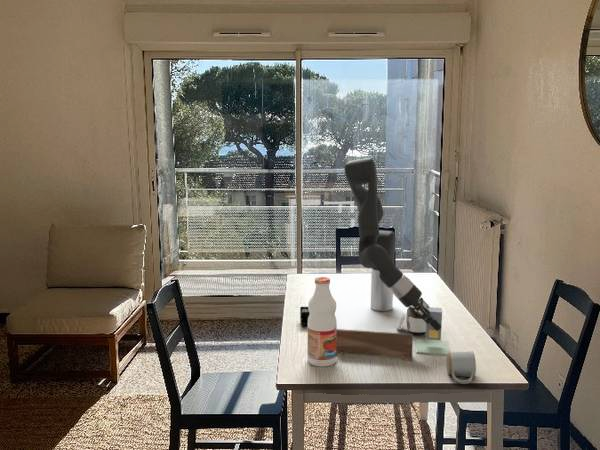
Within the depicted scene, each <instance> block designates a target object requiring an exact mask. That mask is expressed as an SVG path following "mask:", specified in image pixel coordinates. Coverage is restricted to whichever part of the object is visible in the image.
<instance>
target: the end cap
mask: <svg viewBox="0 0 600 450" xmlns="http://www.w3.org/2000/svg"><path fill="white" fill-rule="evenodd" d="M299 313H300V314H299V318H300V319H299V321H300V323H301V324H300V327H301V328H308V317H309V315H310V313H309V309H308V306H300V307H299Z"/></svg>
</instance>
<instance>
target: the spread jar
mask: <svg viewBox="0 0 600 450" xmlns="http://www.w3.org/2000/svg"><path fill="white" fill-rule="evenodd" d="M424 301H425V302H426V303H427V304H428V305H430V303H429V302H428V301H427V300H424ZM414 309H415V308H414V307H413V306H410V307H407V310H406V312H402V315H401V317H400V320H399V322H398V324H397V326H396V329H397V330H398V331H401V330H402V327H403V324H404V322H405V320H406V323H405V324H406V330H407V331H408V334H413V336H418V335H422V336H426V322H425V321H424V320H423V319H422V318H421V317H420V316H419V315H417V314H416V311H415V310H414Z"/></svg>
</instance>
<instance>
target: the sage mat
mask: <svg viewBox="0 0 600 450" xmlns="http://www.w3.org/2000/svg"><path fill="white" fill-rule="evenodd" d="M450 352H451V351H450V345H449V341H448V340H441V341H440V340H427V339H424V338H422V339H421V338H416V354H421V355H432V354H435V355H436V356H445V355H447V354H448V353H450Z"/></svg>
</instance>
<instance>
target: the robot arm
mask: <svg viewBox="0 0 600 450" xmlns="http://www.w3.org/2000/svg"><path fill="white" fill-rule="evenodd" d="M376 165H377V164H376V163H375V160H374V158H372V157H363V158H359V159H354V160H353V159H352V160H349V161H347V162H346V163H345V164H344V175H345V178H346V181H347V183H348V186H349V188H350V190H351V192H352V194H353V197H354V199H355V204H356V207H357V210H358V215H357V223H358V224H357V225H358V226H357V227H358V231H359V232H358V233H359V241H358V260H359V263H360V264H361V265H362V266H363V267H364V268H367V269H371V272H370V275H371V276H370V279H371V281H370V309H371V310H373V311H377V312H378V311H379V312H388V311H391V310H392V311H393V309H394V308H393V305H394V304H393V302H394V297H395V298H396V299H397V300H398V301H399V302H400V303H401V304H402V305H404V307H406V308H409V307H410V306H413V307H414V308H415V309H414V310H415V311H416V314H417V315H419V316H420V317H421V318H422V319H423V320H424V321H425V322H426V323H427V324H429V323H430V325H431V326H432V327H433V328H434V329H435V330H436V331H438V330H439V329H441V330H442V326H441V325H440V324H439V323H438V322H437V321H436V320H435V319H434V317H433V316H432V315H431V314H430V311H429V309H428V308H430V307H431V306H429V305H430V304H427V303H426V302H425V301H426V300H424V298H423V297H421V296H422V294H423V292H422V291H421V290H420V288H418V287H417V286H416V285H415V284H414V283H413V282H412V280H411V279H410V278H409V277H407V276H406V275H405V274H404V273H403V272H402V271H401V270H400V269H399V268H398V267H397V266H396V265H395V253H396V252H395V251H396V243H397V242H396V239H397V238H396V234H395V232H394V231H392V230H382V229H380V225H379V224H380V223H381V221H382V220H383V217H384V208H383V205H382V201H381V198H379V196H378V171H377V166H376ZM364 185H368V186H367V188H366V187H364ZM426 317H429V319H427V318H426Z"/></svg>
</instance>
